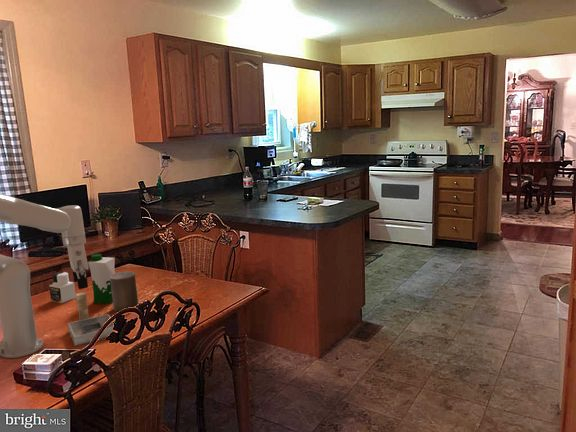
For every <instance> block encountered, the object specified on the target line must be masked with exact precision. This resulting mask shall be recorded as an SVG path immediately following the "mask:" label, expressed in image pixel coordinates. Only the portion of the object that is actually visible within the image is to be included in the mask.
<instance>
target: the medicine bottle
mask: <svg viewBox="0 0 576 432" xmlns="http://www.w3.org/2000/svg"><path fill="white" fill-rule="evenodd" d="M48 287H49V294H50V301H51V302H54V303H58V304H64V303H66V302H68V301H72V300H74V299H77V298H76V287H75V282H73V281H70V278H69V273H68V272H67V271H58V272H55V273H53V274H52V284H49V286H48Z"/></svg>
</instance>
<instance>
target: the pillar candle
mask: <svg viewBox="0 0 576 432" xmlns="http://www.w3.org/2000/svg"><path fill="white" fill-rule="evenodd" d="M136 281H137V280H136V273H135V271H134V272H133V271H121V272H115V274H113V275H111V276H110V282H111V290H112V299H113V301H112V304H113V305H112V306H113V307H112V308H113V310H114V311H116V312H121V311H120V310H122V309H124V308H128V307H134V306H136V305H137V304H138V305H139V298H138V297H139V296H138V289H137V282H136Z"/></svg>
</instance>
